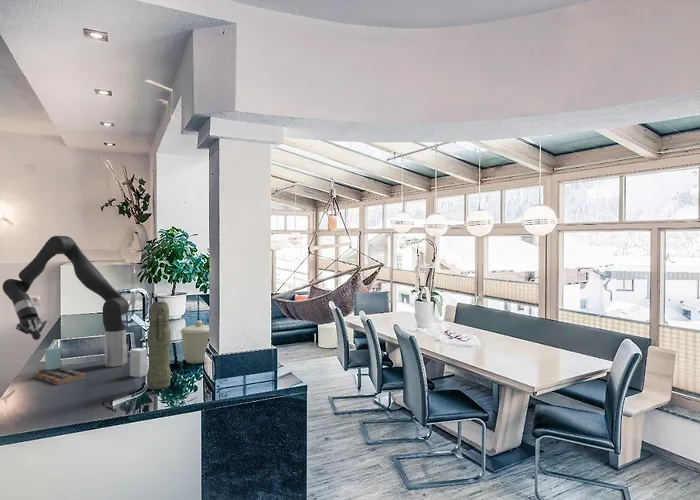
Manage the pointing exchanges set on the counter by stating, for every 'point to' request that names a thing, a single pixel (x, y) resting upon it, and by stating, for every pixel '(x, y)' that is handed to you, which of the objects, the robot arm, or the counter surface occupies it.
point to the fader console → (59, 375)
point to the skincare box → (138, 362)
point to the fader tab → (53, 359)
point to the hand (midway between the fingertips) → (37, 338)
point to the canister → (195, 342)
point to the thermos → (159, 346)
